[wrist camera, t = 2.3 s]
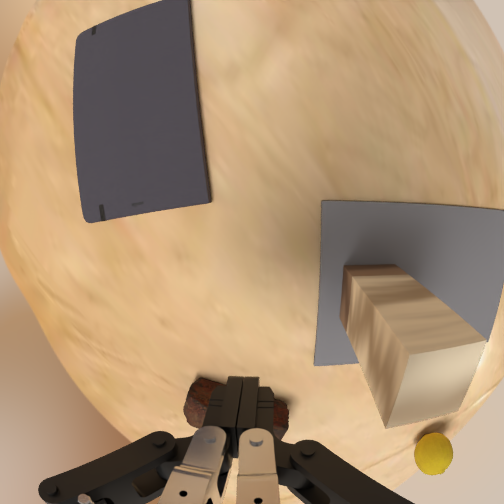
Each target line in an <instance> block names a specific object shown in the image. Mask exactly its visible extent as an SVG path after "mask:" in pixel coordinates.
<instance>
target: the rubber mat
mask: <svg viewBox="0 0 504 504" xmlns="http://www.w3.org/2000/svg"><path fill="white" fill-rule="evenodd" d="M380 264H395V265H397V266H398V267H399V268H401V269H402V270H403V271H405V272H406V273H407V274H409V275H410V276H411V277H412V278H414V279H415V280H416V281H418V282H419V283H420V284H421V285H423V286H424V287H425V288H426V289H428V290H429V291H430V292H431V293H433V294H434V295H435V296H436V297H438V298H439V299H440V300H441V301H442V302H444V303H445V304H446V305H447V306H448V307H450V308H451V309H452V310H453V311H454V312H456V313H457V314H458V315H459V316H460V317H461V318H463V319H464V320H465V321H466V322H467V323H468V324H469V325H471V326H472V327H473V328H474V329H475V330H476V331H477V332H479V333H480V334H481V335H482V336H483V337H484V338H485V339H486V340H487V341H486V342H488V340H489V337H490V334H491V331H492V327H493V324H494V321H495V317H496V313H497V310H498V306H499V302H500V297H501V293H502V289H503V284H504V210H495V209H485V208H474V207H462V206H449V205H434V204H417V203H396V202H369V201H321V257H320V283H319V302H318V317H317V331H316V344H315V355H314V366H327V365H343V364H355V363H359V361H358V359H357V357H356V354H355V352H354V350H353V347H352V345H351V343H350V340H349V338H348V336H347V333H346V331H345V329H344V327H343V324H342V322H341V320H340V318H339V315H340V305H341V293H342V279H343V265H380Z"/></svg>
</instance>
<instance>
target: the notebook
mask: <svg viewBox="0 0 504 504" xmlns="http://www.w3.org/2000/svg"><path fill="white" fill-rule="evenodd" d="M73 120H74V141H75V155H76V166H77V176H78V184H79V192H80V199H81V206H82V212H83V217H84V219H85V221H86V222H88V223H95V222H100V221H106V220H110V219H116V218H121V217H126V216H132V215H138V214H143V213H149V212H155V211H161V210H167V209H174V208H180V207H187V206H193V205H200V204H207V203H211V195H210V187H209V180H208V172H207V165H206V157H205V149H204V140H203V132H202V123H201V115H200V106H199V96H198V87H197V77H196V66H195V56H194V44H193V32H192V20H191V6H190V0H162V1H158V2H155V3H152V4H149V5H146V6H143V7H140V8H137V9H135V10H132V11H129V12H127V13H124V14H122V15H119V16H117V17H114V18H112V19H110V20H107V21H105V22H103V23H100V24H98V25H96V26H93V27H92V28H90V29H88V30H86V31H84V32H82V33H81V34H80V35H79V36H78V37H77V39H76V47H75V60H74V81H73Z"/></svg>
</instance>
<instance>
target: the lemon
mask: <svg viewBox="0 0 504 504" xmlns="http://www.w3.org/2000/svg"><path fill="white" fill-rule="evenodd" d="M414 457H415V462H416V464H417V466H418V467H419V469H420V470H421V471H422V472H423V473H425V474H428V475H437V474H442V473H444V472H445V469H447V468H448V466H449V465H450V463H451V461H452V459H453V449H452V446H451V443H450V441H449V439H448V438H447V437H446V436H444V435H443V434H441V433H430V434H425V435H424V436H423V437H422V439H421V440H420V441H419V442H418V443H417V445H416V448H415V451H414Z"/></svg>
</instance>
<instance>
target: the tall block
mask: <svg viewBox="0 0 504 504" xmlns="http://www.w3.org/2000/svg"><path fill="white" fill-rule="evenodd" d="M339 318H340V320H341V322H342V324H343V327H344V329H345V331H346V333H347V336H348V338H349V340H350V343H351V345H352V347H353V350H354V352H355V354H356V357H357V359H358V361H359V364H360V366H361V368H362V371H363V373H364V376H365V378H366V380H367V383H368V385H369V388H370V390H371V393H372V395H373V398H374V400H375V403H376V405H377V408H378V410H379V413H380V416H381V418H382V421H383V423H384V426H385V429H387V428H392V427H397V426H402V425H407V424H412V423H416V422H420V421H424V420H428V419H432V418H436V417H439V416H443V415H447V414H450V413H453V412H456V411H458V410H459V408H460V406H461V404H462V402H463V399H464V397H465V395H466V393H467V391H468V388H469V386H470V384H471V381H472V379H473V377H474V374H475V372H476V369H477V367H478V364H479V361H480V359H481V356H482V353H483V350H484V347H485V344H486V341H487V340H486V339H485V338H484V337H483V336H482V335H481V334H480V333H479V332H477V331H476V330H475V329H474V328H473V327H472V326H471V325H469V324H468V323H467V322H466V321H465V320H464V319H463V318H461V317H460V316H459V315H458V314H457V313H456V312H454V311H453V310H452V309H451V308H450V307H448V306H447V305H446V304H445V303H444V302H442V301H441V300H440V299H439V298H438V297H436V296H435V295H434V294H433V293H431V292H430V291H429V290H428V289H426V288H425V287H424V286H423V285H421V284H420V283H419V282H418V281H416V280H415V279H414V278H412V277H411V276H410V275H409V274H407V273H406V272H405V271H403V270H402V269H401V268H399V267H398V266H397V265H395V264H380V265H343V279H342V293H341V305H340V315H339Z"/></svg>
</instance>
